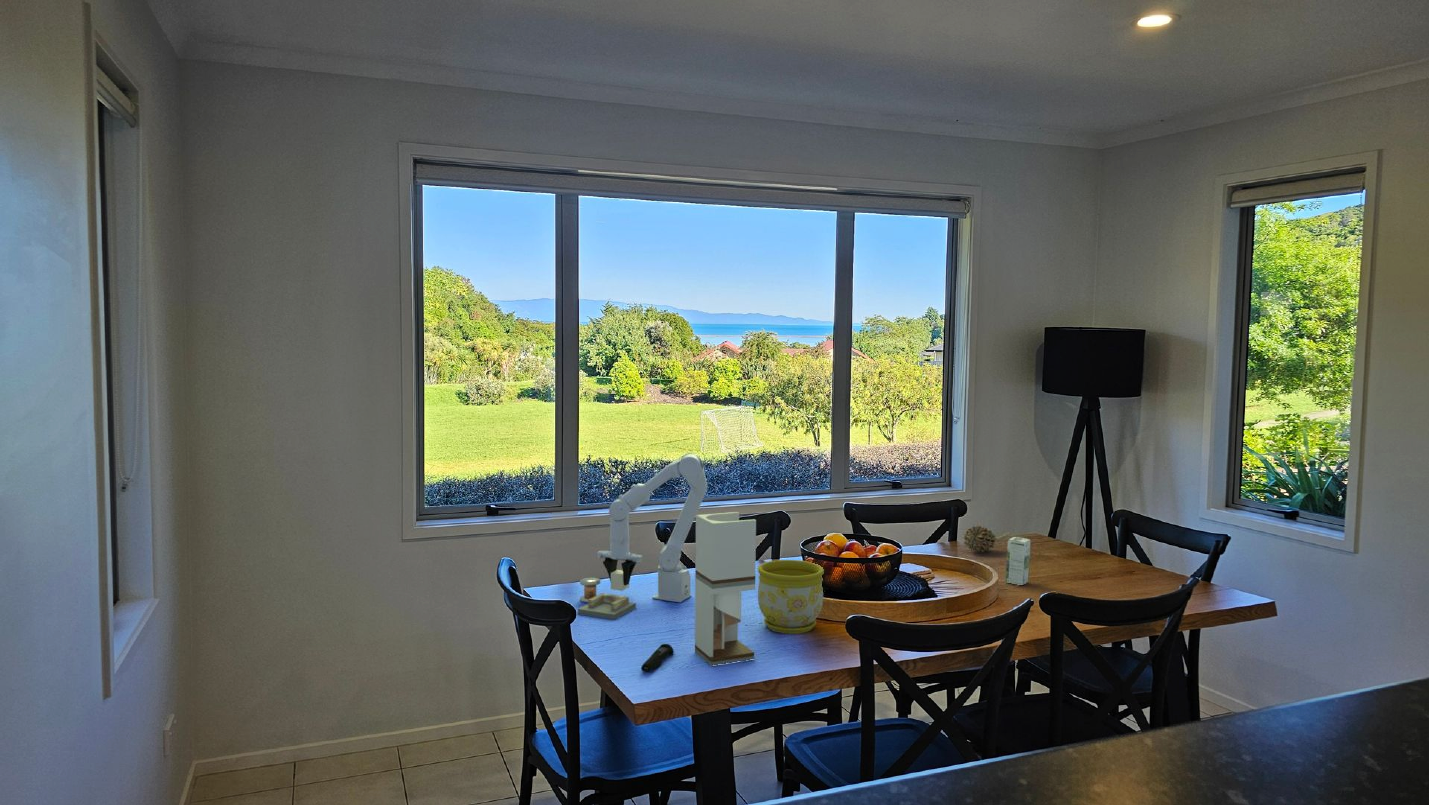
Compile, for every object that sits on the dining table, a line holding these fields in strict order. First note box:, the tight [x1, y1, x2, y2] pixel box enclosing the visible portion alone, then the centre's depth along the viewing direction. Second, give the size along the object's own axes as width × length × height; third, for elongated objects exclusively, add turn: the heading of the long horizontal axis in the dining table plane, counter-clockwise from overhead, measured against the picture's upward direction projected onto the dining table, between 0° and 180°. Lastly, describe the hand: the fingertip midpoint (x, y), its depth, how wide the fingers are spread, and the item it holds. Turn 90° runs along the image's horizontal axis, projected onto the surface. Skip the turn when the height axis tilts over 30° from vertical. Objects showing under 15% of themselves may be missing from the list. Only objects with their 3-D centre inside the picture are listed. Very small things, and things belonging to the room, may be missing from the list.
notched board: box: [577, 592, 637, 621], centre depth 263 cm, size 12×12×4 cm
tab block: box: [610, 569, 630, 592], centre depth 277 cm, size 4×4×5 cm
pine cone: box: [962, 525, 1011, 552], centre depth 339 cm, size 22×10×10 cm, turn 123°
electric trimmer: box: [640, 643, 675, 672], centre depth 222 cm, size 4×16×3 cm, turn 162°
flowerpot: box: [757, 559, 824, 635], centre depth 250 cm, size 18×18×16 cm
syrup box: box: [1005, 536, 1031, 586], centre depth 295 cm, size 6×6×14 cm
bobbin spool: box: [579, 577, 601, 604], centre depth 273 cm, size 6×6×6 cm
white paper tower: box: [694, 511, 757, 667], centre depth 226 cm, size 11×11×35 cm
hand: (619, 583), depth 277 cm, fingers closed on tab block, 4 cm apart
